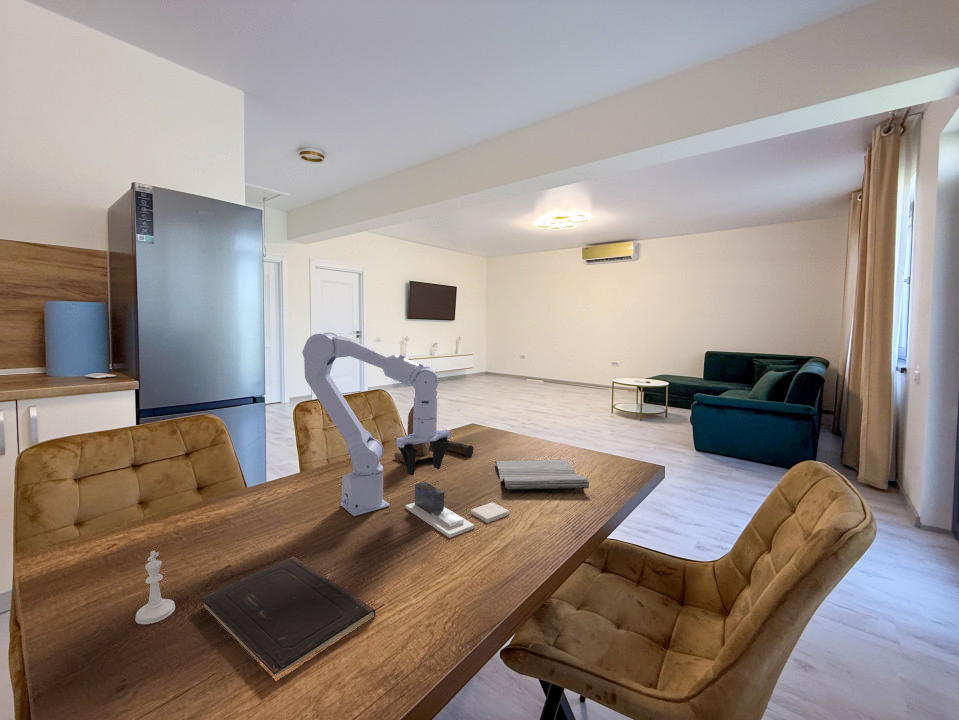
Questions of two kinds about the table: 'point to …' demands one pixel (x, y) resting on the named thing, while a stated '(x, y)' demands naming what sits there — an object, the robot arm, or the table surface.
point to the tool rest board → (436, 524)
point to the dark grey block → (435, 504)
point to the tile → (489, 512)
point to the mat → (539, 475)
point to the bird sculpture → (421, 448)
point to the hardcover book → (286, 612)
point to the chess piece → (154, 596)
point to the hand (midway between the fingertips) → (424, 470)
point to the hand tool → (460, 448)
